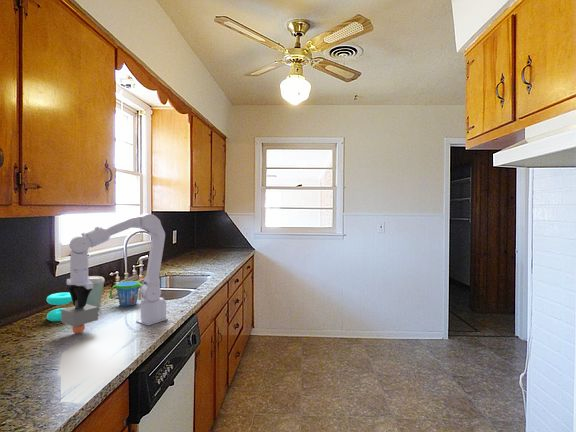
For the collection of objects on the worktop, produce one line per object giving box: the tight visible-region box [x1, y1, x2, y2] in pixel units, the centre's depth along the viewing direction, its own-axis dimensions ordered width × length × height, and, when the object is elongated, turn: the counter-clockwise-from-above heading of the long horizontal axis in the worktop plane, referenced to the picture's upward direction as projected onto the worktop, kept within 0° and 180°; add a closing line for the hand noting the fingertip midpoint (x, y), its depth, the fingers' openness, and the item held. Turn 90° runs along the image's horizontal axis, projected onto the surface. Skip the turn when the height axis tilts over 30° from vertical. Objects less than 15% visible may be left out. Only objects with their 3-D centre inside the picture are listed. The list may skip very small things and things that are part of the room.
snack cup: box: [109, 280, 143, 307], centre depth 170 cm, size 16×10×10 cm
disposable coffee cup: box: [86, 275, 106, 310], centre depth 161 cm, size 11×11×15 cm
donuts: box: [46, 291, 73, 322], centre depth 148 cm, size 10×10×10 cm
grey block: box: [60, 300, 99, 327], centre depth 131 cm, size 9×9×8 cm
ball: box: [71, 324, 86, 334], centre depth 132 cm, size 4×4×4 cm
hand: (79, 305), depth 131 cm, fingers closed on grey block, 3 cm apart
